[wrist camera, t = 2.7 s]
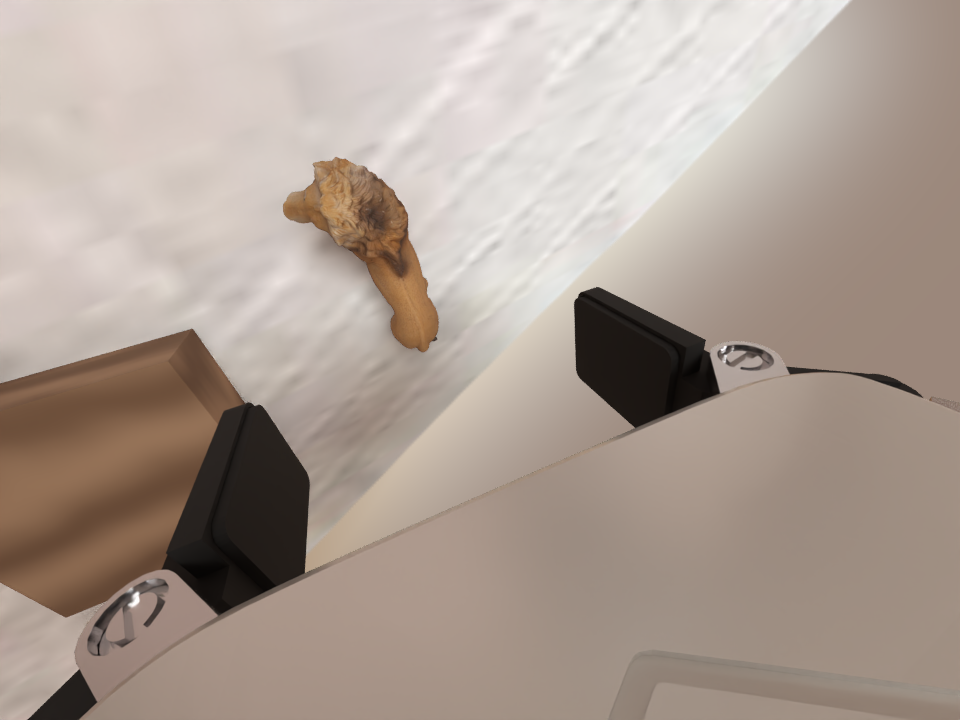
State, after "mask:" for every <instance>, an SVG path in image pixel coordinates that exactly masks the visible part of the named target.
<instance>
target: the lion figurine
mask: <svg viewBox="0 0 960 720" xmlns="http://www.w3.org/2000/svg"><path fill="white" fill-rule="evenodd" d="M313 166H314V167H315V171H314V174H315V175H314V177H315V180H314V182H313V183H312V184H311V185H310V186H308V187H307V188H306V189H305V190H304V191H301V192H292V193H291V194H290V195H289V196H288V197H287V200H286V202H285V203H284V204H283V212H284V215H285V216H286V217H287V218H288V219H290V220H294V221H296V222H299V223H310V222H313V224H314V225H315V226H316V227H317V228H319V229H321V230H324V231H326V232H328V233H329V234H330V236H331V237H332V238H333V239H334V241H335V243H337V244H338V246H341V245H343V246H344V247H345V248H347V249H348V250H350V251H353V253H354V254H355V255H356V256H357V257H359V258H360V259H361V260H363V261H365V262H366V264H367V267H368V270H369V272H370V275H371V277H372V279H373V281H374V283H375V285H376V286H377V287H378V289H379V290H380V292H381V293H382V295H383V296H384V298H385V299H386V300H387V302H388V303H389V304H390V305H391V306H392V308H393V309H394V312H395V313H394V316H393V317H392V319H391V330H392V333H393V335H394V336H395V338H396V339H397V340H398V341H399V342H400V343H401V344H402V345H404V346H405V347H407V348H410V349H411V348H415V347H416V348H418V350H419V351H421V352H425V351H427V350H428V348H429V343H430V342H431V341H435V340H437V338H436V337H435V336H436V334H437V332H438V323H439V321H438V314H437V311H436V308H435V307H434V305H433V303H432V301H431V300H430V299H429V298H428V296H427V286H428V282H427V280H426V279H425V278H424V277H423V276H422V272H421V267H420V264H419V260H418V258H417V255H416V253H415V250H414V248H413V246H412V244H411V243H410V241H409V239H408V229H407V228H408V214H407V212H406V211H405V207H404V205H403V204H402V203H401V201H399V200H398V198H397V197H396V195H395V192H394V190H392V189H391V188H389V187H388V186H387V185H386V184H385V182H383V180H382V179H378V178H377V176H376V174H374V173H372V172H369V171H368V170H367V168H366V167H365V166H356V165H355V164H353V163H351V162H349V161H348V160H346V159H339V158H337V157H335V158H334V159H333V160H332V161H326V162H325V161H320V162H315V163H313Z"/></svg>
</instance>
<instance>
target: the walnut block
mask: <svg viewBox="0 0 960 720" xmlns="http://www.w3.org/2000/svg"><path fill="white" fill-rule="evenodd" d="M243 404H245V403H244V401H243V400H242V398H241V397H240V396H239V394H238V393H237V391H236V390H235V388H234V387H233V386H232V384H231V383H230V381H229V380H228V378H227V377H226V376H225V374H224V373H223V371H222V370H221V368H220V367H219V366H218V364H217V363H216V361H215V360H214V358H213V357H212V356H211V354H210V353H209V351H208V350H207V348H206V347H205V346H204V344H203V343H202V341H201V340H200V338H199V337H198V336H197V334H196V333H195V331H194V330H193V329H190V330H186V331H183V332H179V333H176V334H172V335H169V336H165V337H162V338H158V339H155V340H151V341H148V342H144V343H141V344H137V345H134V346H130V347H127V348H123V349H120V350H116V351H113V352H109V353H106V354H102V355H99V356H95V357H92V358H88V359H85V360H81V361H78V362H74V363H71V364H67V365H64V366H60V367H57V368H53V369H50V370H46V371H43V372H39V373H36V374H32V375H29V376H25V377H22V378H18V379H15V380H11V381H8V382H4V383H1V384H0V583H2V584H4V585H6V586H8V587H10V588H11V589H13V590H15V591H17V592H19V593H21V594H23V595H25V596H26V597H28V598H30V599H32V600H34V601H36V602H38V603H39V604H41V605H43V606H45V607H47V608H49V609H51V610H53V611H54V612H56V613H58V614H60V615H62V616H64V617H69V616H71V615H74V614H76V613H79V612H81V611H83V610H86V609H88V608H91V607H93V606H96V605H98V604H101V603H103V602H105V601H108V600H109V599H110V598H111V597H112V596H113V595H114V594H115V593H116V592H118V591H119V590H120V589H122V588H123V587H124V586H126V585H127V584H128V583H130V582H132V581H134V580H135V579H137V578H139V577H141V576H143V575H144V574H147V573H150V572H153V571H156V570H161V569H162V567H163V564H164V562H165V559H166V557H167V554H166V551H167V549H168V546H169V544H170V541H171V539H172V536H173V534H174V531H175V529H176V527H177V524H178V522H179V519H180V517H181V514H182V512H183V509H184V507H185V504H186V502H187V499H188V497H189V495H190V492H191V490H192V487H193V485H194V482H195V480H196V477H197V475H198V472H199V470H200V468H201V465H202V463H203V460H204V458H205V455H206V453H207V450H208V448H209V445H210V443H211V440H212V438H213V436H214V433H215V431H216V428H217V426H218V423H219V421H220V418H221V416H222V413H223V412H224V411H225V410H227V409H230V408H233V407H237V406H240V405H243Z"/></svg>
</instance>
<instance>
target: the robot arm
mask: <svg viewBox="0 0 960 720" xmlns="http://www.w3.org/2000/svg"><path fill="white" fill-rule="evenodd" d="M574 313H575V344H576V345H575V348H576V371H577V374H578V376H579V378H580V379H581V380H582V381H583V382H584V383H586V384H587V385H588V386H589V387H590V388H591V389H592V390H593V391H595V392H596V393H597V394H598V395H599V396H600V397H601V398H603V399H604V400H605V401H606V402H607V403H608V404H609V405H610V406H611V407H612V408H614V409H615V410H616V411H617V412H618V413H619V414H620V415H621V416H622V417H624V418H625V419H626V420H627V421H628V422H629V423H630V424H632V425H633V426H634V427H635V429H632V430H630V431H628V432H625V433H623V434H621V435H618V436H616V437H614V438H611V439H609V440H607V441H604V442H602V443H600V444H597V445H595V446H593V447H590V448H588V449H586V450H583V451H581V452H579V453H577V454H574V455H572V456H570V457H567V458H565V459H563V460H560V461H558V462H556V463H553V464H551V465H549V466H546V467H544V468H542V469H539V470H537V471H535V472H532V473H530V474H528V475H526V476H523V477H521V478H519V479H517V480H514V481H512V482H510V483H507V484H505V485H503V486H500V487H498V488H496V489H494V490H491V491H489V492H487V493H484V494H482V495H480V496H477V497H475V498H473V499H471V500H468V501H466V502H464V503H461V504H459V505H457V506H455V507H452V508H450V509H448V510H446V511H443V512H441V513H439V514H437V515H434V516H432V517H430V518H427V519H426V520H423V521H421V522H418V523H416V524H414V525H412V526H410V527H407V528H405V529H403V530H400V531H398V532H396V533H393V534H391V535H389V536H387V537H385V538H382V539H380V540H378V541H376V542H373V543H371V544H369V545H366V546H364V547H362V548H360V549H357V550H355V551H353V552H351V553H348V554H346V555H344V556H342V557H340V558H337V559H335V560H333V561H331V562H329V563H326V564H324V565H322V566H320V567H318V568H316V569H313V570H311V571H309V572H307V573H305V559H306V541H307V523H308V505H309V487H310V482H309V477H308V475H307V472H306V471H305V469H304V468H303V466H302V465H301V463H300V462H299V460H298V459H297V457H296V456H295V454H294V453H293V451H292V450H291V448H290V447H289V445H288V444H287V442H286V441H285V439H284V438H283V436H282V435H281V433H280V432H279V430H278V428H277V427H276V425H275V424H274V422H273V421H272V419H271V418H270V416H269V415H268V413H267V412H266V410H265V409H264V408H263V407H262V406H261V405H257V406H254V405H253V404H252V403H246V404H243V405H240V406H237V407H233V408H230V409H227V410H225V411H224V412H223V413H222V416H221V418H220V421H219V423H218V426H217V428H216V431H215V433H214V436H213V438H212V440H211V443H210V445H209V448H208V450H207V453H206V455H205V458H204V460H203V463H202V465H201V468H200V470H199V472H198V475H197V477H196V480H195V482H194V485H193V487H192V490H191V492H190V495H189V497H188V499H187V502H186V504H185V507H184V509H183V512H182V514H181V517H180V519H179V522H178V524H177V527H176V529H175V531H174V534H173V536H172V539H171V541H170V544H169V546H168V549H167V551H166V554H167V557H166V559H165V562H164V564H163V567H162V569H161V570H156V571H153V572H150V573H147V574H144V575H143V576H141V577H139V578H137V579H135V580H134V581H132V582H130V583H128V584H127V585H126V586H124V587H123V588H122V589H120V590H119V591H118V592H116V593H115V594H114V595H113V596H112V597H111V598H110V599H109V600H108V601H107V602H105V603H104V604H103V605H102V606H101V607H100V608H99V610H98V611H97V612H96V613H95V614H94V616H93V617H92V618H91V619H90V621H89V622H88V623H87V625H86V626H85V628H84V630H83V632H82V633H81V635H80V637H79V639H78V642H77V645H76V649H75V652H74V653H75V660H76V664H77V666H78V667H79V670H78V671H77V672H76V673H75V674H74V675H73V676H72V677H71V678H70V679H69V680H68V681H67V682H66V683H65V684H64V685H63V686H62V687H61V688H60V689H59V690H58V691H57V692H56V693H55V694H53V695H52V696H51V697H50V698H49V699H48V700H47V701H46V702H45V703H44V704H43V705H42V706H41V707H40V708H39V709H38V710H37V711H36V712H35V713H34V714H33V715H32V716H31V717H30V718H29V719H28V720H960V403H959V402H954V401H949V400H945V399H940V398H935V397H931V398H930V400H926V399H924V398H923V397H922V396H921V395H920V394H919V393H918V392H917V391H916V390H914V389H912V388H911V387H909V386H907V385H905V384H903V383H901V382H900V381H898V380H896V379H894V378H891V377H888V376H884V375H879V374H864V373H852V372H840V371H829V370H817V369H806V368H795V367H786V366H785V364H784V362H783V360H782V359H781V357H780V356H779V355H778V354H777V353H776V352H774V351H773V350H771V349H769V348H767V347H764V346H762V345H759V344H754V343H749V342H741V341H733V342H725V343H720V344H718V345H716V346H714V347H713V348H712V349H711V351H710V353H709V352H707V351H705V350H704V346H705V341H706V340H705V339H703V338H701V337H699V336H697V335H694V334H692V333H690V332H688V331H686V330H684V329H682V328H680V327H678V326H676V325H674V324H672V323H670V322H668V321H666V320H664V319H662V318H660V317H658V316H656V315H654V314H652V313H650V312H648V311H646V310H644V309H642V308H640V307H638V306H636V305H634V304H632V303H630V302H628V301H626V300H624V299H622V298H620V297H618V296H616V295H614V294H611V293H610V292H608V291H606V290H603V289H601V288H599V287H596V288H593V289H590V290H587V291H584V292H581V293H580V294H579V296H578V298H577V299H576V300H575V302H574Z"/></svg>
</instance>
